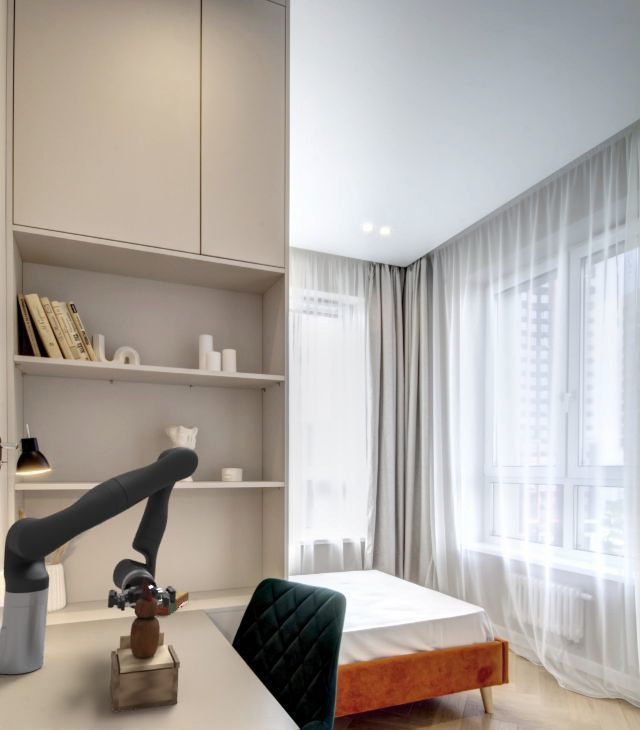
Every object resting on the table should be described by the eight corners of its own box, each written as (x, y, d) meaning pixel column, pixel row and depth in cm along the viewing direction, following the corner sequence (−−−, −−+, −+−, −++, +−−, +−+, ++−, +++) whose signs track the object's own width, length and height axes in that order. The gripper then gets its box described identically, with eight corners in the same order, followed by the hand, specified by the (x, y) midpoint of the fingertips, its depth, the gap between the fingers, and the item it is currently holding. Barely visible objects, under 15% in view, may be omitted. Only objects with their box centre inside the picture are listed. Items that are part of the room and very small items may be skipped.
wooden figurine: (129, 651, 124) (133, 576, 126) (157, 649, 125) (161, 575, 128) (129, 662, 117) (133, 583, 120) (159, 659, 119) (162, 581, 121)
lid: (120, 673, 114) (121, 655, 114) (116, 652, 126) (117, 636, 126) (173, 666, 117) (174, 649, 118) (165, 647, 129) (165, 631, 130)
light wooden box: (111, 712, 112) (114, 669, 113) (108, 687, 124) (111, 649, 125) (178, 702, 117) (179, 661, 118) (169, 680, 129) (171, 642, 130)
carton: (188, 604, 197) (189, 590, 198) (168, 616, 181) (169, 602, 182) (165, 602, 198) (165, 589, 199) (143, 615, 183) (144, 600, 183)
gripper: (107, 573, 138) (109, 587, 123) (170, 570, 143) (179, 583, 128) (105, 607, 137) (107, 626, 122) (169, 602, 142) (178, 620, 127)
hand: (144, 604), depth 125 cm, fingers open, 8 cm apart
